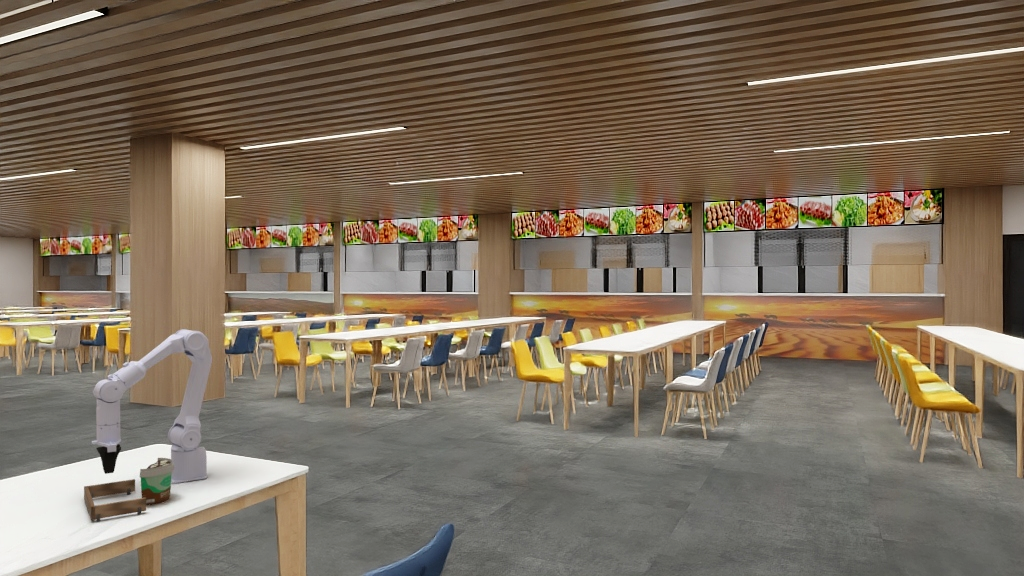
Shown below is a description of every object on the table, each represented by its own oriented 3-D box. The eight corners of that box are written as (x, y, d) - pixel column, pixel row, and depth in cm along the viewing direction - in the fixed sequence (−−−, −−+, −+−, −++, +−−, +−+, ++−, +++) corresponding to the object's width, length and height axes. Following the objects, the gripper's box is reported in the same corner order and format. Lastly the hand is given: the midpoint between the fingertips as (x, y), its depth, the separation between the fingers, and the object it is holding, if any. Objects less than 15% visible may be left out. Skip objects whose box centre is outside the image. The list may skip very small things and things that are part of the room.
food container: (164, 507, 183) (164, 469, 183) (139, 507, 182) (139, 469, 182) (181, 492, 195) (181, 456, 195) (158, 493, 195) (158, 457, 194)
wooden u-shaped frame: (134, 492, 195) (134, 478, 195) (146, 513, 178) (146, 498, 178) (83, 499, 188) (83, 486, 188) (91, 522, 171) (91, 507, 171)
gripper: (88, 420, 196) (89, 468, 197) (94, 430, 185) (94, 481, 185) (117, 417, 201) (118, 464, 201) (124, 427, 189) (125, 477, 189)
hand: (109, 472), depth 193 cm, fingers closed
